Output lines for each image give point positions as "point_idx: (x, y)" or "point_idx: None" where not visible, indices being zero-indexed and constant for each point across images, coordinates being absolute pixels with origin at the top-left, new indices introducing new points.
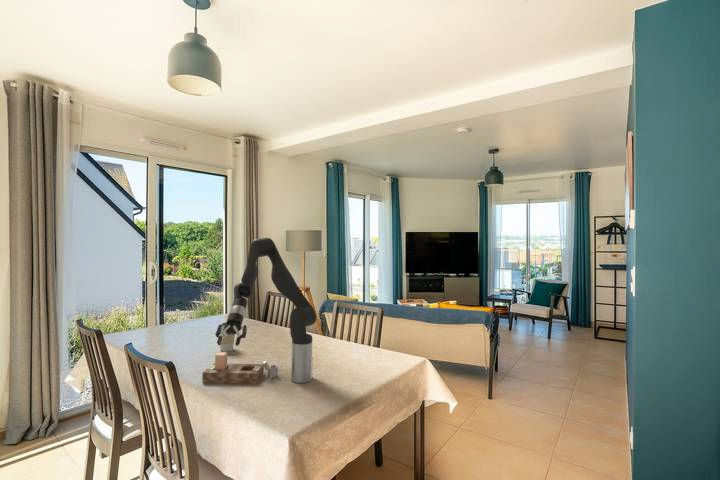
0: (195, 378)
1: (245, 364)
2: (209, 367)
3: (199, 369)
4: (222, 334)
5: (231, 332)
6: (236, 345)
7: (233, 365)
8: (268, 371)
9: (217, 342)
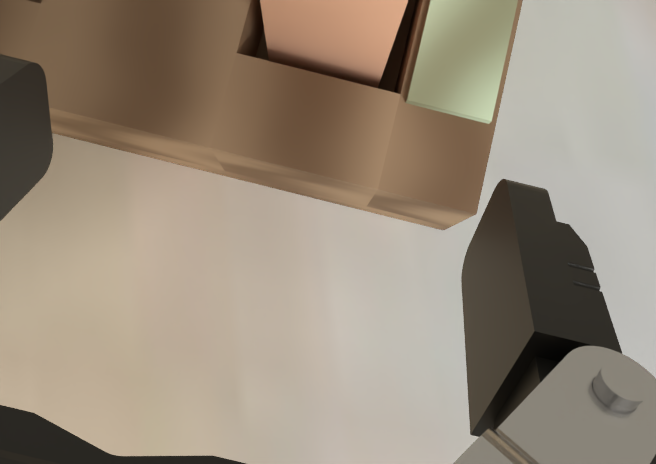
0: (603, 87)
1: None
2: (497, 16)
3: None
4: (520, 409)
5: (73, 435)
6: (37, 124)
7: (180, 63)
8: None
9: (562, 229)
